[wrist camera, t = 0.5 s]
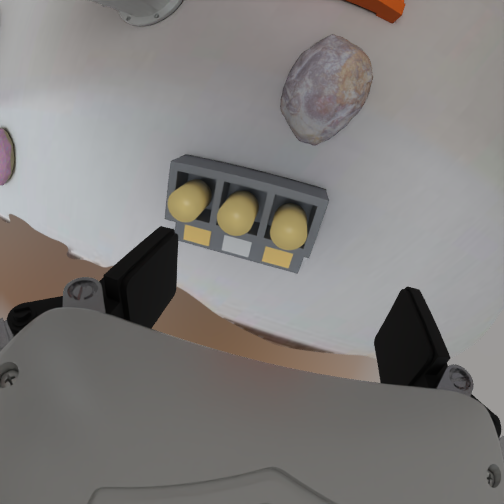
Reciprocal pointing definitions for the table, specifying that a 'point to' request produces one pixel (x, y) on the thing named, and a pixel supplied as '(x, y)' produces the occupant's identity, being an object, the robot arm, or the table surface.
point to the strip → (238, 248)
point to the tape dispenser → (383, 8)
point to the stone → (326, 89)
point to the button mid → (238, 213)
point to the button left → (189, 200)
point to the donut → (6, 156)
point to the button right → (289, 227)
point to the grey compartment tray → (261, 186)
